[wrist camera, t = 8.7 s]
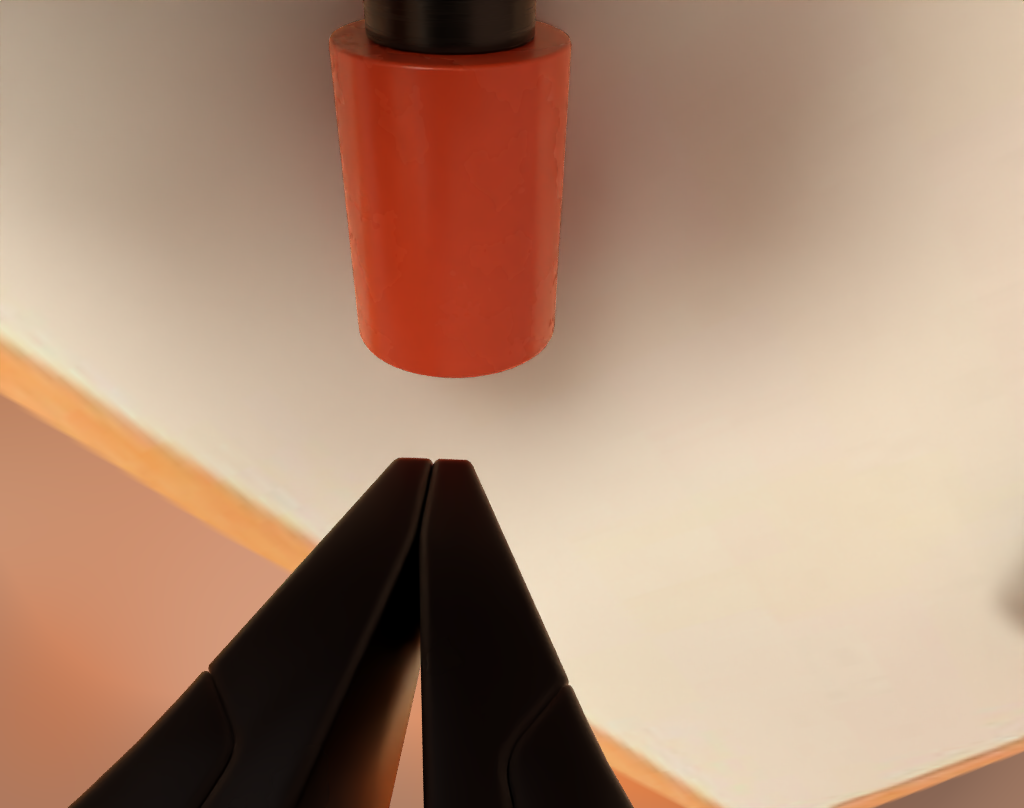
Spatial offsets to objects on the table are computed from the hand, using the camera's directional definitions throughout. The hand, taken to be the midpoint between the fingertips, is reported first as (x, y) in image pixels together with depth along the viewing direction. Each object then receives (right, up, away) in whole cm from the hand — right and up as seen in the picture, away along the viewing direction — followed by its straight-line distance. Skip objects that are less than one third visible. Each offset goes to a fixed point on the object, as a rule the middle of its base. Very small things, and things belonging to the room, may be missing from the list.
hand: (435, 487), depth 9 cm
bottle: (+1, +7, +9) cm, 12 cm away
